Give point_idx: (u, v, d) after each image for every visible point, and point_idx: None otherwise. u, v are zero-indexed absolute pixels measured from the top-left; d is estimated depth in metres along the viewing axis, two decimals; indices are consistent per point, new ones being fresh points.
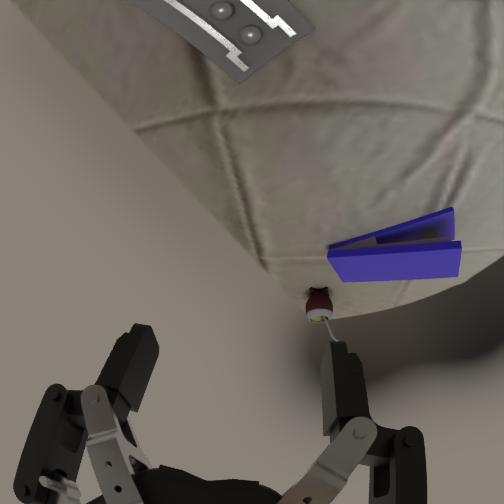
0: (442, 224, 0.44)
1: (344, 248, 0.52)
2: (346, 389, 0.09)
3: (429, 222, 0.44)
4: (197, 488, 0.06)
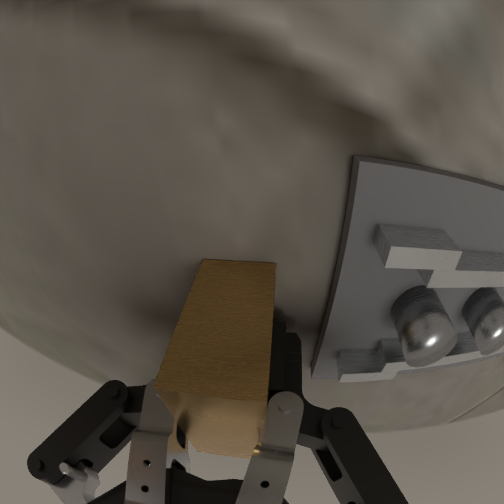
0: None
1: None
2: (278, 364, 0.10)
3: None
4: (197, 488, 0.06)
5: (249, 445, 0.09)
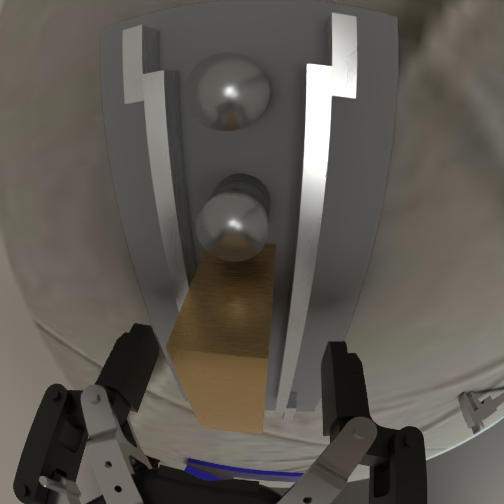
0: (295, 478, 0.45)
1: (202, 468, 0.42)
2: (346, 389, 0.09)
3: (286, 476, 0.44)
4: (197, 488, 0.06)
5: (251, 415, 0.10)
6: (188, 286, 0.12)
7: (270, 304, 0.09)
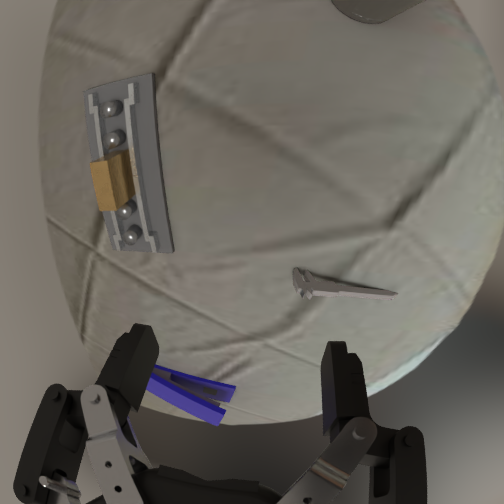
0: (222, 391, 0.67)
1: None
2: (346, 389, 0.09)
3: (213, 386, 0.66)
4: (197, 488, 0.06)
5: (109, 193, 0.32)
6: None
7: (115, 156, 0.31)
